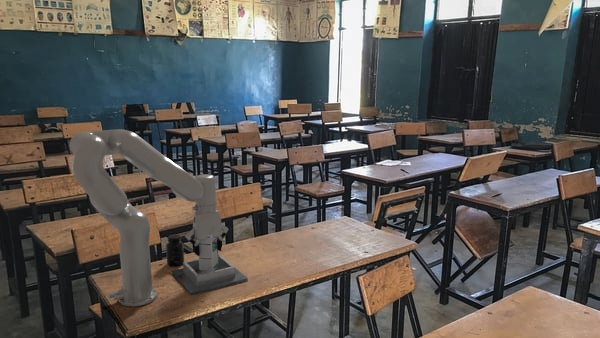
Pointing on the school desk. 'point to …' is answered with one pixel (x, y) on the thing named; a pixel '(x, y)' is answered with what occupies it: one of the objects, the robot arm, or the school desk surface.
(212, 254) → the syrup box
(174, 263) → the supplement bottle
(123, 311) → the school desk surface
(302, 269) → the school desk surface
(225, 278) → the socket
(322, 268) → the school desk surface
